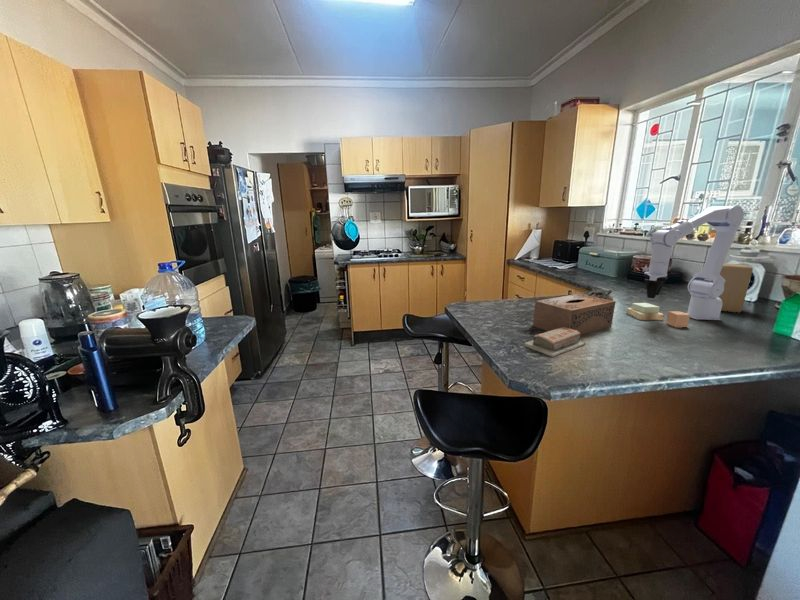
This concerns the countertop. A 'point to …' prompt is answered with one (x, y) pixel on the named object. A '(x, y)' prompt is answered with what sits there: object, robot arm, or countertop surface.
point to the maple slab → (644, 315)
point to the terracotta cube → (677, 319)
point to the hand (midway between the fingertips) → (652, 296)
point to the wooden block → (734, 286)
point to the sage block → (645, 307)
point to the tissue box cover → (574, 313)
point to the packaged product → (556, 341)
